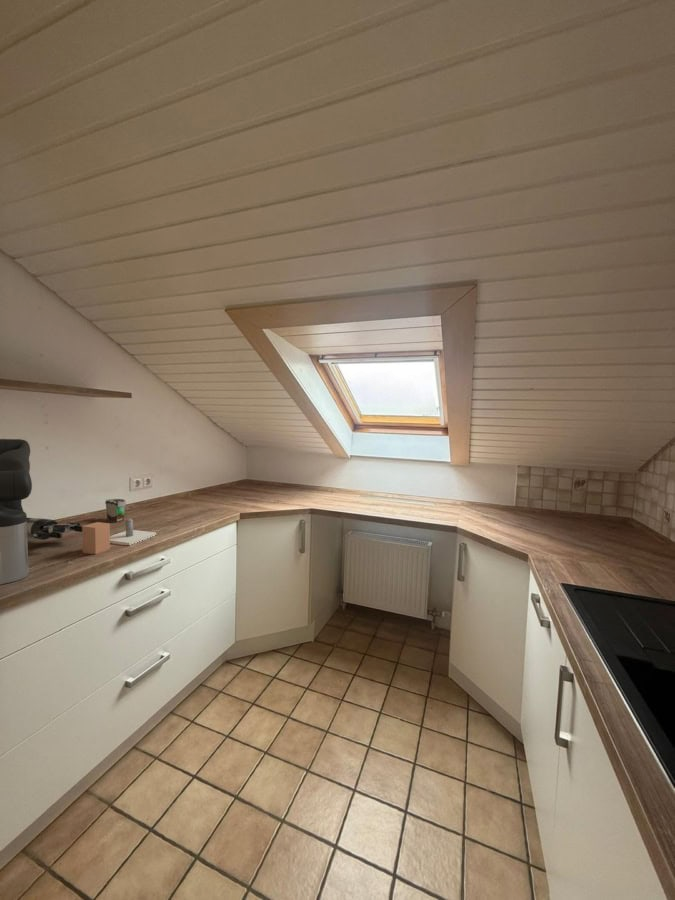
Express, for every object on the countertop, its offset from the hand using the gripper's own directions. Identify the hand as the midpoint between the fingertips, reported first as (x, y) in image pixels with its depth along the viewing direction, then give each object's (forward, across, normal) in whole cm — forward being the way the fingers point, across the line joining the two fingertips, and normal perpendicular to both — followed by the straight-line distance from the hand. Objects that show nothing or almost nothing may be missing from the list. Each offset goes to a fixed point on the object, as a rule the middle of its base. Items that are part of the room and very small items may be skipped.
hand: (72, 532), depth 132 cm
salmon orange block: (+12, 0, +6) cm, 13 cm away
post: (+12, +15, +6) cm, 20 cm away
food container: (-16, +36, +6) cm, 40 cm away
